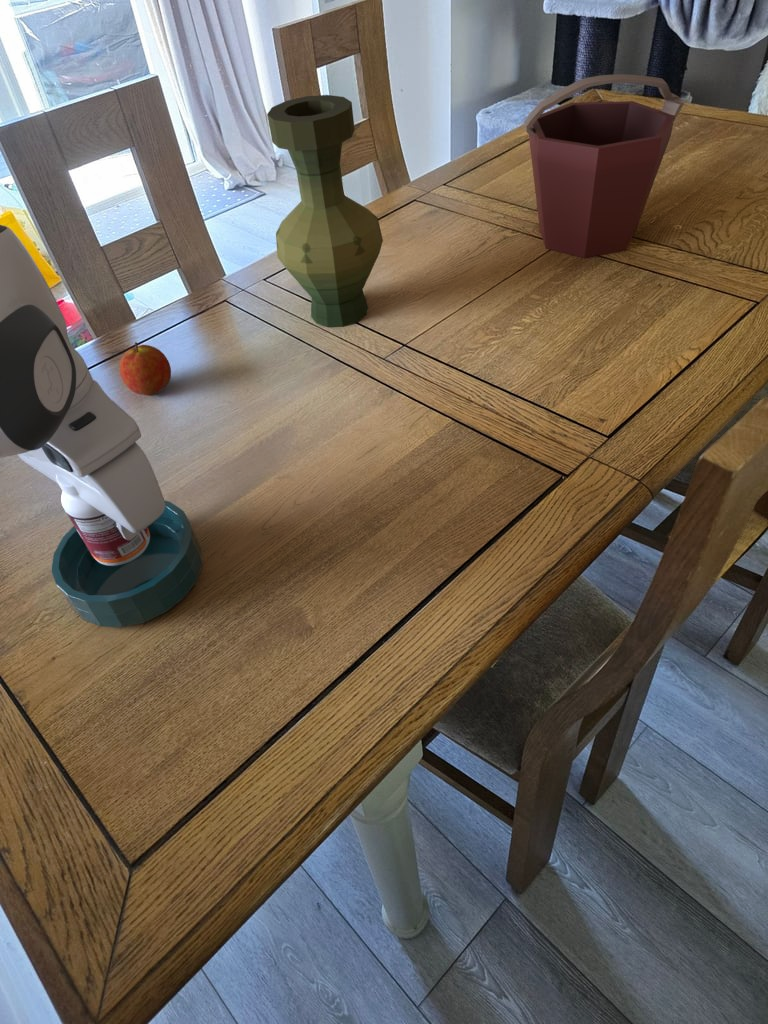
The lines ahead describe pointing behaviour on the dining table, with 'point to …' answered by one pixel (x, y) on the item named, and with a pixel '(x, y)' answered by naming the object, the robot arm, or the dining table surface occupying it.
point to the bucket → (596, 165)
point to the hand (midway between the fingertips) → (108, 519)
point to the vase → (324, 211)
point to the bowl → (130, 574)
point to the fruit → (145, 370)
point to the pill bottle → (100, 530)
